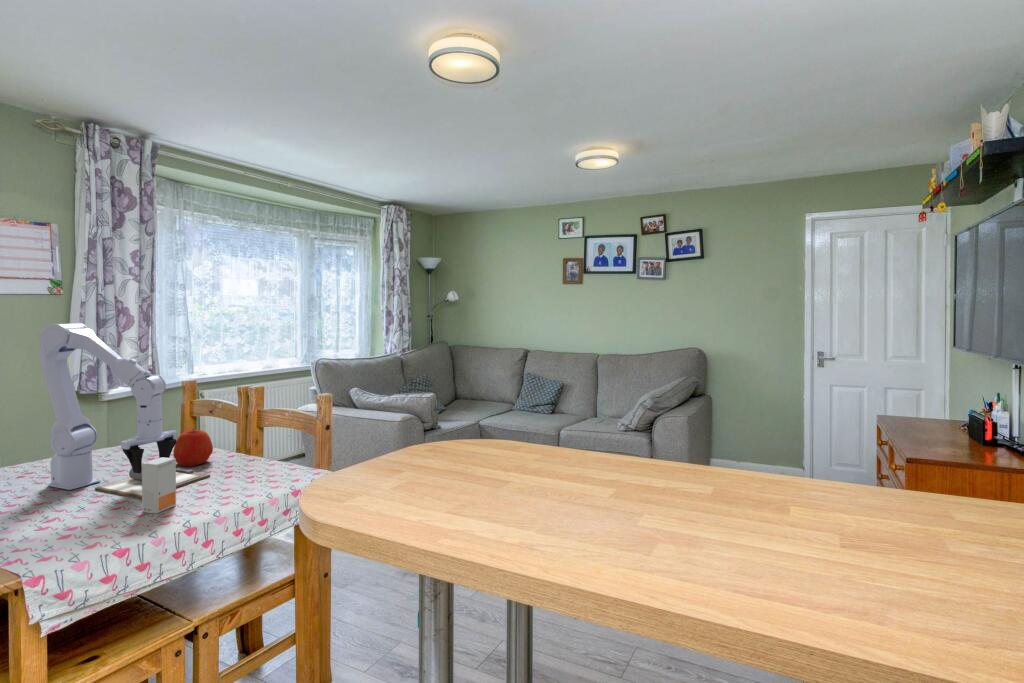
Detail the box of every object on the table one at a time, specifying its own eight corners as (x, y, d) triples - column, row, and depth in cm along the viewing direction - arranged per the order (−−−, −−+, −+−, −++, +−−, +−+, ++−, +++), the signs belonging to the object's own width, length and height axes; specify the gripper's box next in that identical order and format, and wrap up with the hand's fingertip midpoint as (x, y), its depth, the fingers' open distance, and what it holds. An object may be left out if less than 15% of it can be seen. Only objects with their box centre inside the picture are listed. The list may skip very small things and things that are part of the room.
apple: (220, 461, 173) (219, 428, 173) (185, 470, 164) (184, 435, 163) (201, 456, 179) (200, 424, 178) (166, 464, 170) (165, 430, 169)
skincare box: (157, 514, 130) (155, 464, 129) (141, 512, 131) (140, 463, 130) (177, 505, 136) (176, 457, 135) (162, 503, 137) (161, 456, 136)
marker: (130, 481, 153) (124, 471, 151) (141, 472, 156) (135, 462, 154) (164, 487, 148) (158, 477, 147) (174, 478, 151) (169, 468, 150)
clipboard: (94, 489, 146) (94, 485, 146) (165, 469, 165) (165, 465, 165) (142, 499, 140) (142, 494, 140) (210, 476, 159) (210, 472, 158)
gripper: (133, 426, 142) (135, 478, 143) (184, 416, 156) (185, 463, 156) (115, 424, 144) (116, 474, 145) (166, 414, 158) (167, 460, 159)
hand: (150, 468), depth 151 cm, fingers open, 7 cm apart
